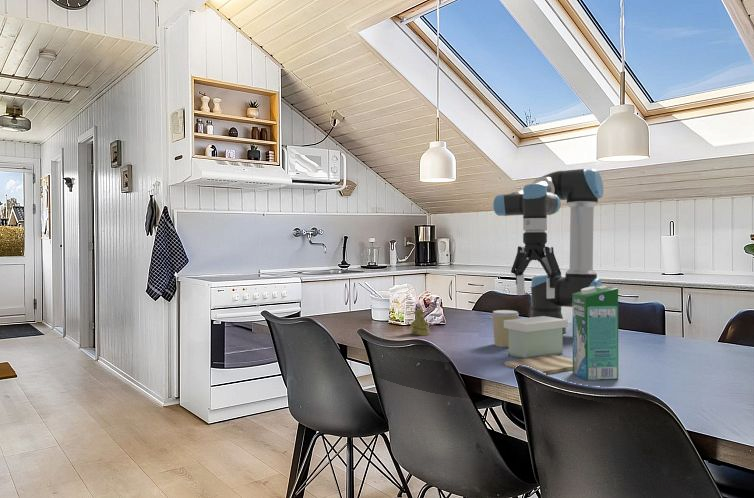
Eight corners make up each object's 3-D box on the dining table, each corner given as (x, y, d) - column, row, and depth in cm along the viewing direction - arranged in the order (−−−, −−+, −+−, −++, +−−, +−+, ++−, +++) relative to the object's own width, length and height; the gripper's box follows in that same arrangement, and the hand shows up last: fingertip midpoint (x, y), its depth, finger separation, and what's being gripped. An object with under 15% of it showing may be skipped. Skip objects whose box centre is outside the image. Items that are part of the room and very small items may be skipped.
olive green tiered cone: (433, 334, 234) (432, 309, 234) (418, 336, 230) (418, 311, 229) (421, 332, 240) (421, 307, 240) (406, 334, 236) (406, 309, 235)
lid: (544, 324, 201) (543, 316, 201) (567, 328, 192) (567, 319, 192) (503, 329, 192) (503, 320, 192) (526, 334, 183) (526, 324, 183)
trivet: (552, 357, 187) (552, 354, 187) (590, 366, 174) (590, 363, 174) (504, 365, 177) (504, 362, 177) (540, 375, 164) (540, 371, 164)
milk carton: (572, 372, 167) (572, 285, 166) (603, 371, 168) (602, 284, 167) (586, 380, 158) (586, 288, 157) (618, 379, 159) (618, 287, 158)
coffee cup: (519, 347, 204) (519, 313, 204) (492, 347, 206) (492, 313, 206) (518, 343, 213) (518, 310, 213) (492, 342, 215) (492, 309, 215)
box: (544, 350, 200) (544, 323, 200) (562, 354, 193) (562, 326, 193) (508, 355, 192) (508, 327, 192) (526, 359, 185) (525, 331, 185)
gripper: (500, 232, 200) (500, 294, 201) (555, 231, 179) (555, 300, 179) (517, 232, 204) (517, 293, 204) (572, 231, 182) (572, 299, 183)
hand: (535, 296), depth 192 cm, fingers open, 13 cm apart
